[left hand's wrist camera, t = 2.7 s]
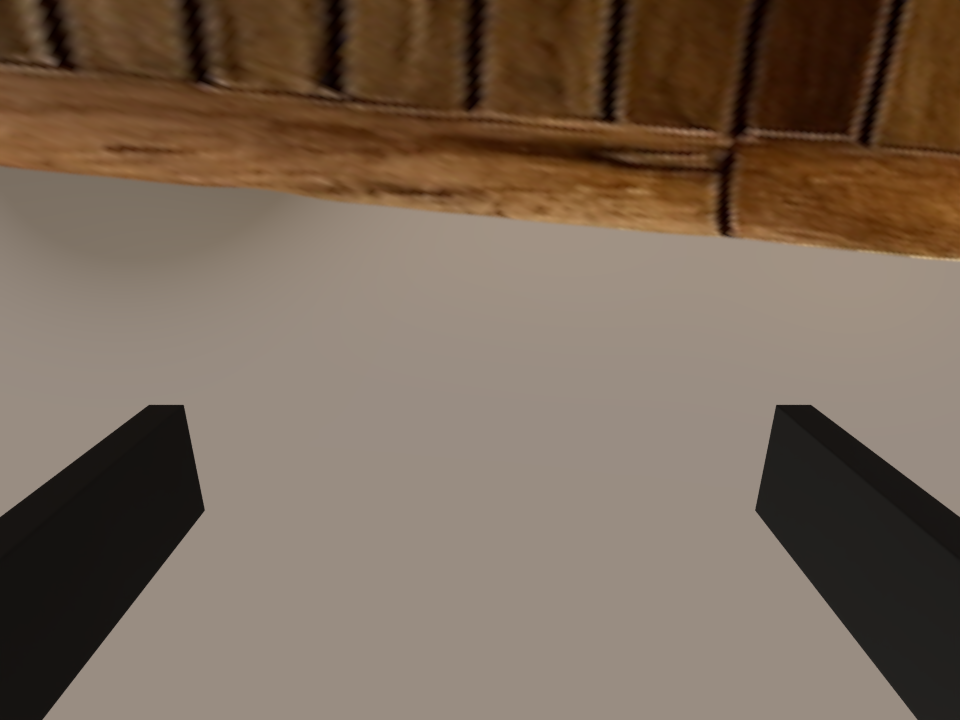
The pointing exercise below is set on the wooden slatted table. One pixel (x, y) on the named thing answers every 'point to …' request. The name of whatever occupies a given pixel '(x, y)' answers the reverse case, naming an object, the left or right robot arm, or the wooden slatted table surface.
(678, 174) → the wooden slatted table surface
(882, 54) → the wooden slatted table surface
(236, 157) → the wooden slatted table surface
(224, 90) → the wooden slatted table surface
